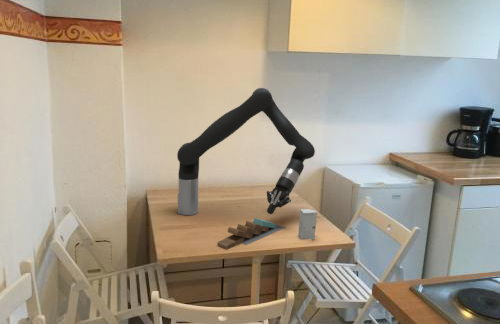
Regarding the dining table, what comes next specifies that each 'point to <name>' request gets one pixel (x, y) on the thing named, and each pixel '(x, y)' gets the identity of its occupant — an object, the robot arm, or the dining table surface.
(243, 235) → the domino
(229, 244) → the domino
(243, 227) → the domino
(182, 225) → the dining table surface
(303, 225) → the skincare box
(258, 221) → the domino
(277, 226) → the domino mat
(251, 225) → the domino
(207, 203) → the dining table surface
